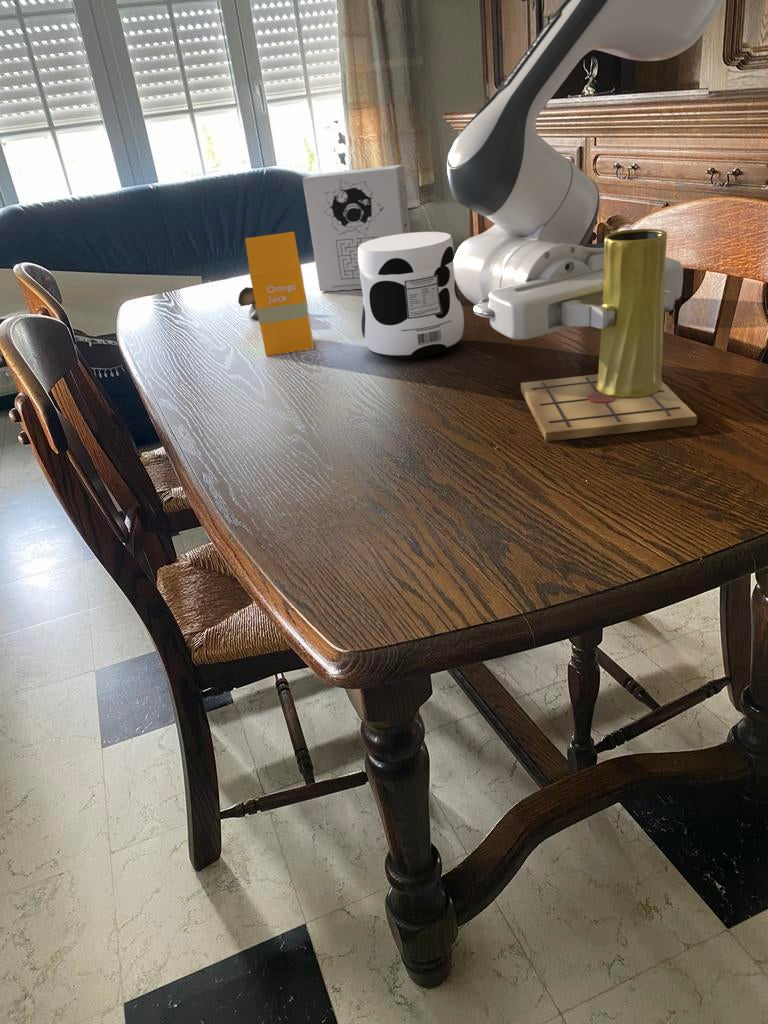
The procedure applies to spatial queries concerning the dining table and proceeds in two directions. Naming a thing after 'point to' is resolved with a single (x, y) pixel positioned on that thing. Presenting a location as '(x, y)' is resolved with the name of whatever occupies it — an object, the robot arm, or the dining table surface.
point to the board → (599, 409)
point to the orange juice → (279, 293)
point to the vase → (633, 314)
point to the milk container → (409, 295)
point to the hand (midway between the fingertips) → (639, 310)
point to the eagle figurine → (248, 301)
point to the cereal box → (352, 218)
